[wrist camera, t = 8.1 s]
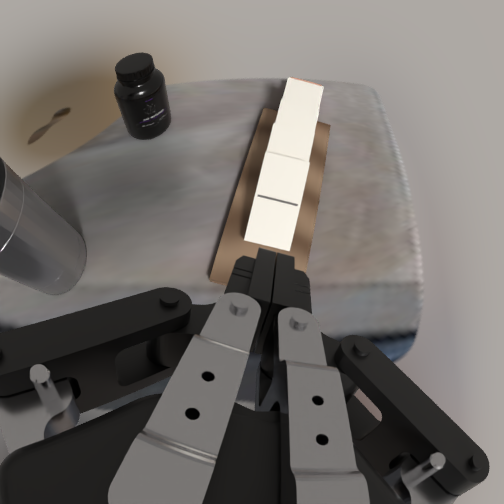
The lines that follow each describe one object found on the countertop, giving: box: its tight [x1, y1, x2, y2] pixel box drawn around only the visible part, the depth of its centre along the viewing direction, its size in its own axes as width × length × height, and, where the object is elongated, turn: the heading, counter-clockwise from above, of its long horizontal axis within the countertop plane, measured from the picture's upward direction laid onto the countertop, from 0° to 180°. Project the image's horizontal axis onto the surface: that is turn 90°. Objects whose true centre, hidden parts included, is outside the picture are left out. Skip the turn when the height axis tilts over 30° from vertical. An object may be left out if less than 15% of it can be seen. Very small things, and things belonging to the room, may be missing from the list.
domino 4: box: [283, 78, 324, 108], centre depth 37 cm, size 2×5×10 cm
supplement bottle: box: [114, 53, 171, 140], centre depth 34 cm, size 7×7×12 cm
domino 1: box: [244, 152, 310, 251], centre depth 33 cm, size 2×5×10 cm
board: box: [209, 108, 330, 286], centre depth 37 cm, size 26×10×1 cm, turn 166°
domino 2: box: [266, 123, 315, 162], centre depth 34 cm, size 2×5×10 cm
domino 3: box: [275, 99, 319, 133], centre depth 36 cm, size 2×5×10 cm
